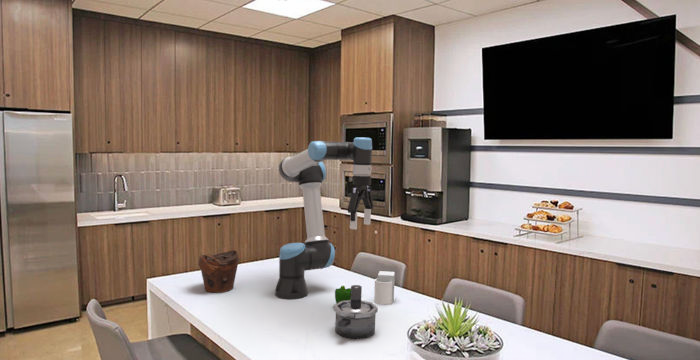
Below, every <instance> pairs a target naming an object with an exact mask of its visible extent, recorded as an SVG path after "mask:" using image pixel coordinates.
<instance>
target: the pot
mask: <svg viewBox="0 0 700 360" xmlns="http://www.w3.org/2000/svg"><path fill="white" fill-rule="evenodd" d="M347 303H351V300H347V301H341V302H339V303H337V304H336V303H335V304H334V305H333V311H334V312H335V327H334V330H335V332H334V333H335V334H336V335H337V336H338V337H341V338H344V339H348V340H365V339H369V338H371V337H373V336H374V335H375V333H376V317H377V316H376V314H377V313H378V309H379V308H378V305H377V306H376V304H375V303H373V302H370V301H368V300H367V301H365V300H362V299H361V303H363V304H366V305H368V306H370V311H369V312H362V313H351V312H346V311H342V310H341V306H342V305H344V304H347Z"/></svg>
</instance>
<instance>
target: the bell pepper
mask: <svg viewBox="0 0 700 360" xmlns="http://www.w3.org/2000/svg"><path fill="white" fill-rule="evenodd" d="M334 299H335V305H336V304H337V303H339V302H341V301H347V300H351V287H348V288H346V286H345V285H341V286H340V287H339V288H335V290H334Z"/></svg>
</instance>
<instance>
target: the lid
mask: <svg viewBox="0 0 700 360" xmlns="http://www.w3.org/2000/svg"><path fill="white" fill-rule="evenodd" d="M350 288H351V303H347V304H344V305H342V306H341V310H342V311H346V312H351V313H362V312H369V311H370V306H368V305H366V304H363V303H361V300H362V288H363V287H362V286H361V285H360V284H353V285H351V286H350Z"/></svg>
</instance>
